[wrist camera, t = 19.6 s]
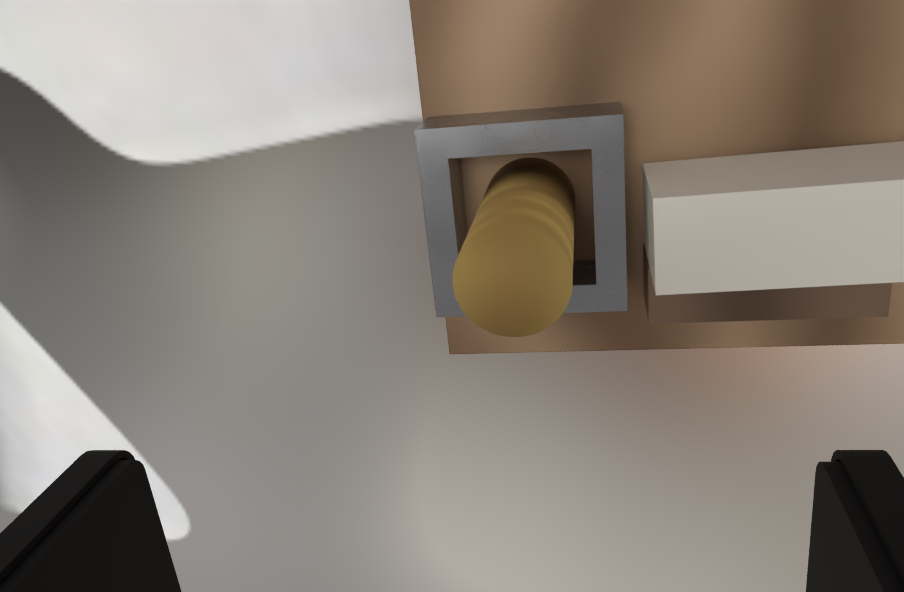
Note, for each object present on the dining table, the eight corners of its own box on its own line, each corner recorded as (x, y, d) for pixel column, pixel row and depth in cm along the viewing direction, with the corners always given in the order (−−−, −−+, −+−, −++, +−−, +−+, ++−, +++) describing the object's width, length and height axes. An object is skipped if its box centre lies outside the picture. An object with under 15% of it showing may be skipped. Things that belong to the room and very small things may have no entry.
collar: (620, 101, 26) (623, 113, 24) (623, 284, 29) (627, 311, 26) (428, 116, 28) (414, 130, 25) (447, 290, 30) (436, 317, 28)
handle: (1088, 115, 24) (1201, 148, 20) (1068, 228, 25) (1171, 282, 21) (641, 154, 26) (653, 191, 22) (645, 255, 28) (656, 308, 23)
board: (1437, -398, 20) (1626, -480, 16) (1231, 316, 27) (1330, 369, 24) (392, -229, 25) (360, -263, 21) (455, 338, 32) (439, 384, 29)
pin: (573, 154, 27) (570, 222, 20) (576, 241, 28) (574, 336, 21) (482, 159, 28) (447, 228, 21) (489, 245, 29) (458, 338, 22)
